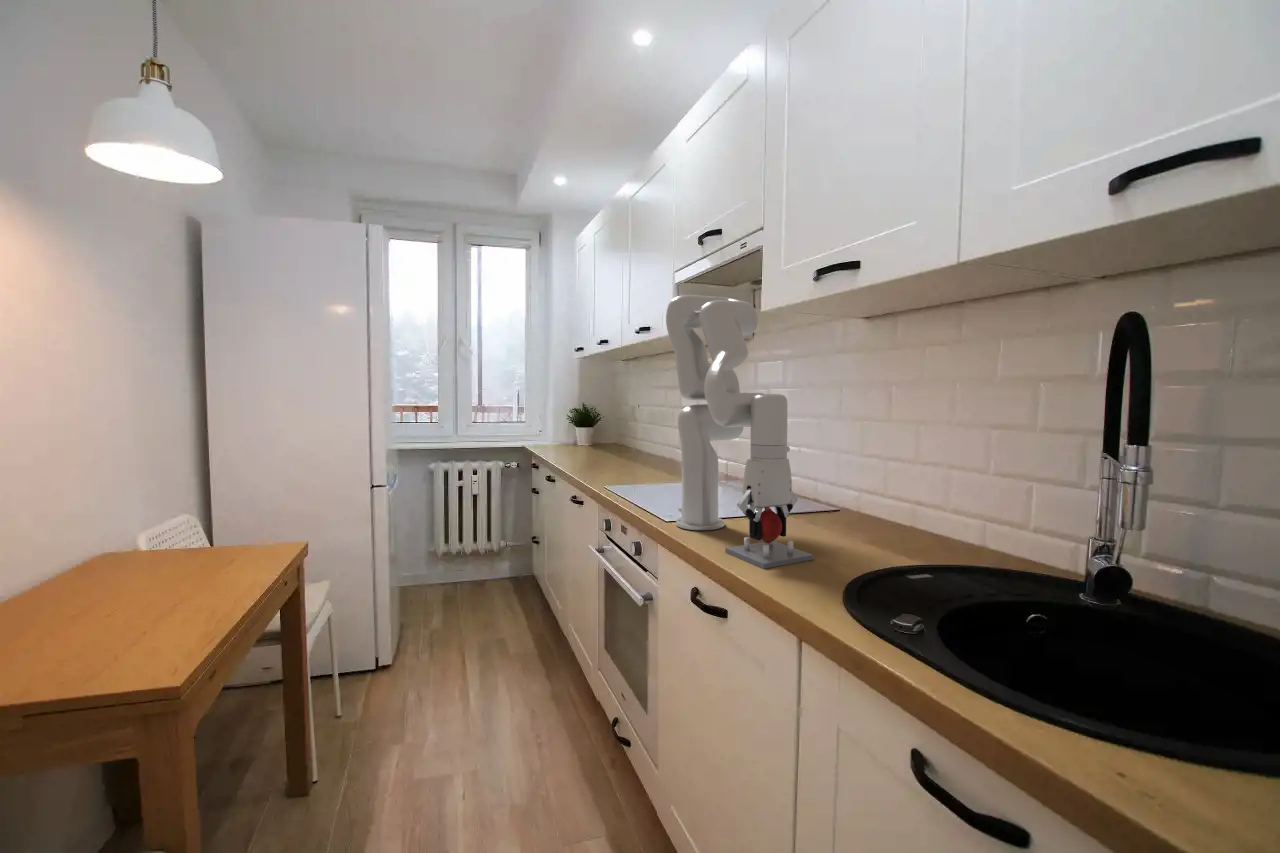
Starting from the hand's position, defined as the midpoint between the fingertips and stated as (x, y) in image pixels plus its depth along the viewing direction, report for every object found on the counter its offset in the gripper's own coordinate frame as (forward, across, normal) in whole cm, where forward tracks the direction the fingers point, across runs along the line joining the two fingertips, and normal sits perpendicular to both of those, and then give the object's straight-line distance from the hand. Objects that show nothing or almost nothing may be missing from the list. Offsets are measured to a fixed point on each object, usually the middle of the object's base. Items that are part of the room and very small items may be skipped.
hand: (767, 536), depth 120 cm
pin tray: (+4, 0, 0) cm, 4 cm away
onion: (+2, 0, 0) cm, 2 cm away
